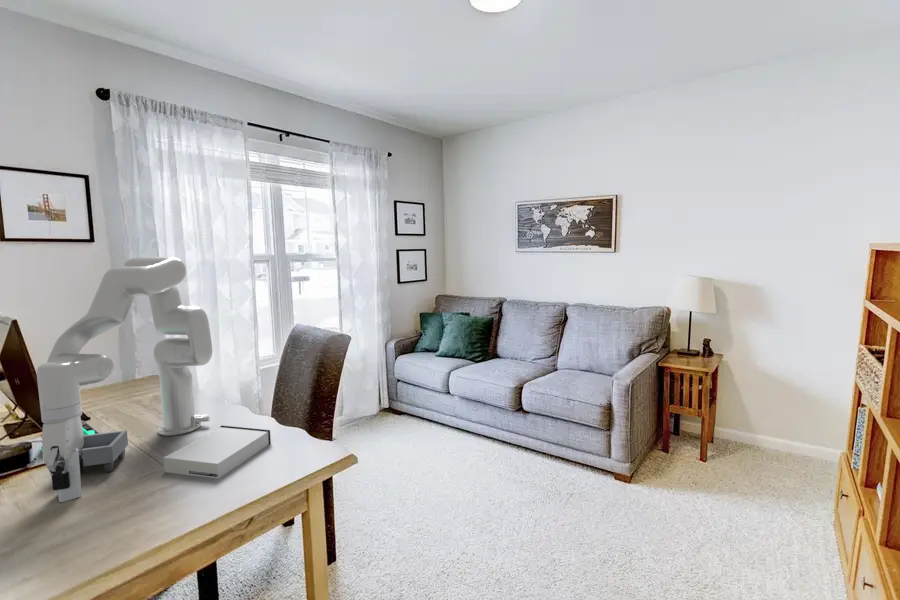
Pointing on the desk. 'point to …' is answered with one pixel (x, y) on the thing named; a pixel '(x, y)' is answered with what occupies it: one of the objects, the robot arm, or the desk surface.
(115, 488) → the desk surface
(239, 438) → the disc drive
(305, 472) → the desk surface
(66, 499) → the skincare box
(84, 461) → the grey square tray
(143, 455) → the desk surface
